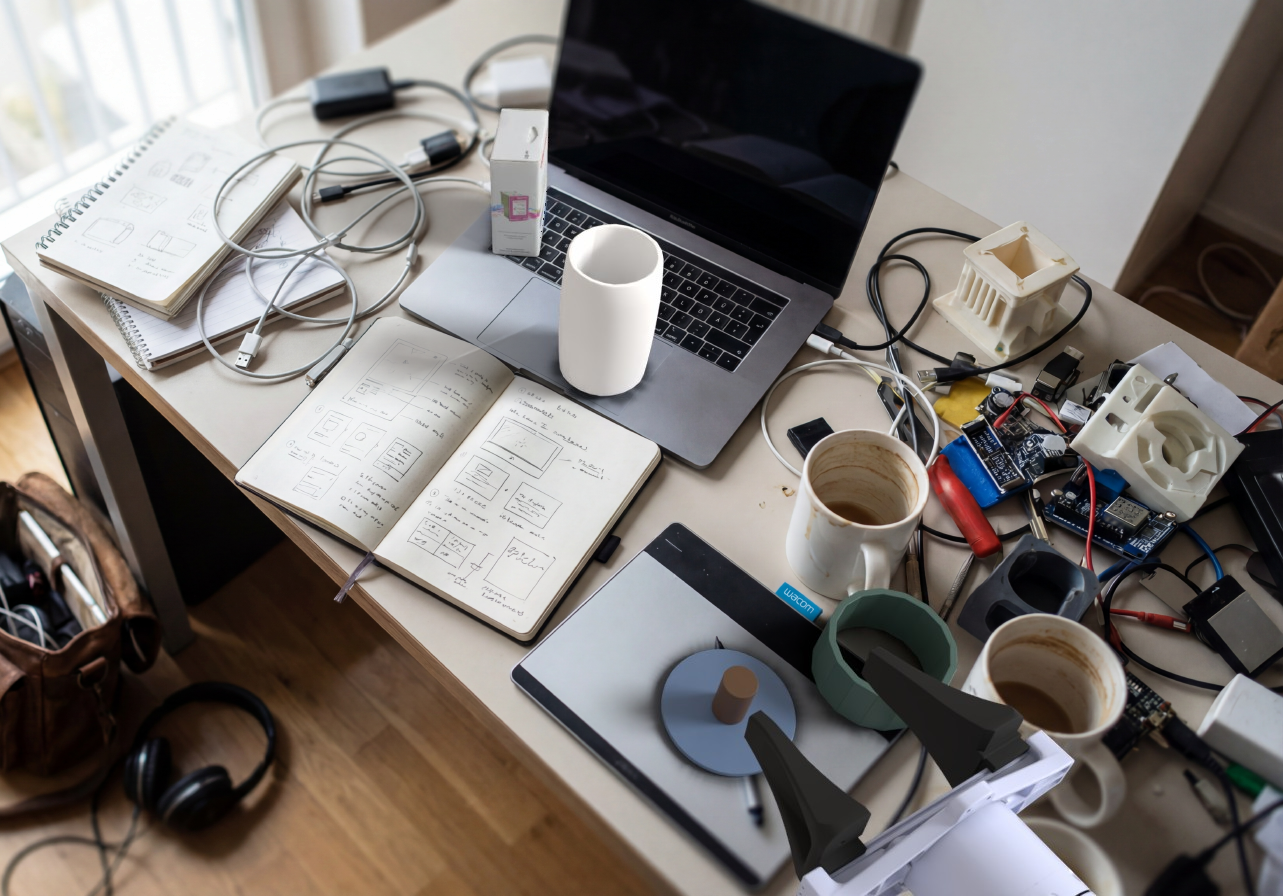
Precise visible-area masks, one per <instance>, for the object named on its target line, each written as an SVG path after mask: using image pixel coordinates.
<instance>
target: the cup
mask: <svg viewBox="0 0 1283 896" xmlns="http://www.w3.org/2000/svg"><path fill="white" fill-rule="evenodd" d="M564 261H565V262H564V267H563V272H562V278H561V285H560V294H559V308H558V309H559V310H558V362H559V370H560V372H561V375H562V377H563V378H564V379H565V380H566V381H567V382H568V384H569V385H571V386H572V387H574V388H575V389H577V390H579V391H582V392H584V393H587V394H589V395H593V396H598V397H608V396H609V397H610V396H615V395H619V394H620V395H621V394H624V393H625V392H627V391H630V390H631V389H633V388H634V387H636V386H637V385H638V384H639V383H641V381H642V378H643V377H644V375H645V371H646V368H647V364H648V361H649V356H650V352H651V349H652V345H653V339H654V336H655V330H656V325H657V319H658V315H659V309H660V303H661V297H662V286H663V275H664V274H663V273H664V256H663V251H662V248H661V246H660V245H659V243H658V242H657V241H656V240H655V239H654V238H652V236H650V235H649V234H647V233H645V232H644V231H643V230H640V229H638V228H636V227H632V226H628V225H623V224H617V223H613V224H612V223H611V224H602V225H597V226H592V227H590V228H588V229H586V230H583V231H582V232H580V233H578V234H577V235H576V236H574V238H572V240H571V241H570V243H569V245H568V247H567V251H566V256H565V260H564Z"/></svg>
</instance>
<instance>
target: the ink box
mask: <svg viewBox="0 0 1283 896" xmlns="http://www.w3.org/2000/svg"><path fill="white" fill-rule="evenodd" d="M549 115H550V114H549V111H548V110H547V109H537V108H501V110H500V114H499V118H498V123H497V127H496V131H495V135H494V139H493V144H492V148H491V153H490V157H489V179H490V211H491V237H492V238H491V239H492V242H491V243H492V244H491V245H492V254H494V255H505V256H518V257H532V258H536V257H538V256H540V250H541V245H542V239H543V231H544V225H545V218H546V211H547V205H546V206H545V203H546V204H547V192H546V191H548V190H547V187H548V186H547V184H548V183H547V181H548V151H549V150H548V145H549V143H548V142H549V138H548V137H549V117H550V116H549ZM544 211H545V214H544ZM543 218H544V220H543ZM542 225H543V226H542ZM541 231H542V232H541ZM540 237H541V238H540Z"/></svg>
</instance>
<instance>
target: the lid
mask: <svg viewBox="0 0 1283 896" xmlns="http://www.w3.org/2000/svg"><path fill="white" fill-rule="evenodd" d="M661 693H662V694H661V701H660V711H661V717H662V722H663V725H664V728H665V730H666V732H667V734H668V736H669V738H670V739H671V741H672V743H673V744H674V745H675V747H676V748H677V749H678V751H679V752H680V753H682V754H683V756H685V758H687V759H688V760H689V761H690V762H692V763H693V764H695V765H697V766H698V767H700V768H702V769H704V770H706V771H708V772H711V773H714V774H716V775H721V776H726V777H735V778H736V777H748V776H749V777H750V776H753V775H757V774H760V773H763V771H762V769H761V767H760V765H759V763H758V761H757V759H756V757H755V755H754V753H753V752H752V750H751V748H750V746H749V745H748V743H747V741H746V739H745V738H744V735H745V731H746V727H747V723H748V719H749V717H750V716H751V715H752V714H754V713H756V712H758V711H759V710H762V711H763V712H764V713H765V714H766V715H768V716H769V717H770V718H771V719H772V720H773V721H774V722H775V723H776V724H777V725H778V726H779V727H780V728H781V730H782V731H783V732H784V733H785V734H786V735H787V737H788V738H789V739H790V740H791V741H792V742H793V740H794V736H795V732H796V727H797V720H796V719H797V716H796V709H795V705H794V701H793V699H792V697H791V694H790V691H789V690H788V688H787V687H786V685H785V683H784V682H783V680H782V678H780V677H779V676H778V675H777V674H776V672H775V671H774V670H772V669H771V668H770V666H768V665H766V663H764V662H762V661H760V659H757V658H755V657H753V656H751V655H749V654H748V653H747V654H746V653H744V652H741V651H738V650H732V649H726V648H724V649H723V648H713V649H707V650H702V651H699V652H696V653H694V654H693V653H692V654H691V655H689V656H687V657H686V658H684V659H683V660H682V661H680V662H679V663H678V664H677V665H676V666H675V667H674V669H672V671H671V672H670V674H669V675H668V677H667V679H666V681H665V683H664V686H663V689H662V692H661Z"/></svg>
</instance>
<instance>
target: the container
mask: <svg viewBox="0 0 1283 896" xmlns="http://www.w3.org/2000/svg"><path fill="white" fill-rule="evenodd" d="M859 627H866V628H871V629H875V630H879V631H884V632H886V633H887V634H889V635H891V636H892V637H895V638H896V639H898V640H900V641H901V642H903V643H904V644H905V645H906V647H908V648H909V649H910V651H911V652H912V653H913V654H914V655H915V656H916V657H917V658H918V661H919V662H920V666H921V668H922V669H923V673H925V674H927V675H929V676H931V677H933V678H935V679H937V680H939V681H941V682H943V683H945V684H947V685H949V686H950V684H951V683H952V680H953V678H954V677H955V674H956V672H957V670H958V646H957V643H956V641H955V639H954V637H953V635H952V632H951V631H950V628H949V626H948V624H947V623H946V621H944V620H943V619H942V618H941V616H939V615H938V614H937V613H936V612H935V611H934V610H933V609H932V607H930V606H929V605H928V604H927V603H924V602H923V601H921V600H919V599H917V598H915V597H914V596H912V595H910V594H909V593H906V592H902V591H897V590H893V589H889V588H885V587H878V588H871V589H862V590H861V589H860V590H857V591H856V592H854V593H852V594H850V595H849V596H847V597H846V598H843V599H842V600H841V601H839V603H838V604H837V606H836V608H835V609H834V611H833V612H832V614H831V615H830V617H829V619H828V621H827V623H826V625H825V627H824V628H823V630H822V632H821V634H820V636H819V637H818V640H817V641H816V643H815V645H814V647H813V648H812V658H811V673H812V676H813V679H814V681H815V684H816V687H817V690H818V692H819V693H820V695H821V696H822V697H823V698H824V700H826V702H827V703H828V704H829V705H830V707H831V708H832V709H833V710H834V711H835V712H836V713H837V714H839V715H840V716H842V717H844V718H845V719H847V720H848V721H851V722H852V723H854V724H855V725H857V726H860V727H864V728H868V729H873V730H877V731H881V732H882V731H883V732H885V731H894V730H900V729H906V728H909V727H908V726H907V725H906V724H905V723H904V721H903V720H902V719H901V718H900V717H899V716H898V715H897V714H896V713H895V712H894V711H893V710H892V709H891V708H890V707H889V706H888V705H887V704H886V703H885V702H884V701H883V700H882V699H881V698H880V697H879V696H878V694H877V693H876V692H875V691H874V690H873V689H872V687H871V686H870V685H869V684H868V682H867V681H866V680H865V679H863V678H860V677H859V676H858V675H857V674H856V673H855V672H854V670H853V669H852V668H851V667H850V666H849V665H848V663H847V662H846V661H845V659H843V656H842V653H841V650H840V647H839V645H838V641H837V633H839V632H841V631H842V630H843V629H851V628H859Z"/></svg>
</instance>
